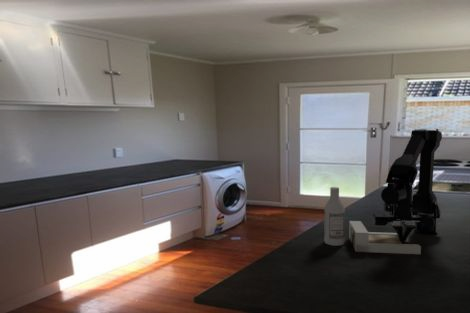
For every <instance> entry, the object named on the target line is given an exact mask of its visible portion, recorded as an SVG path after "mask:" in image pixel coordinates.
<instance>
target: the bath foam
mask: <svg viewBox="0 0 470 313" xmlns="http://www.w3.org/2000/svg"><path fill="white" fill-rule="evenodd" d="M329 190H330V192H329V194H330V197H329V199H328V201H327V202H326V203H325V206H324V213H323V214H324V217H323V220H324V222H323V224H324V225H323V226H324V227H323V228H324V230H323V231H324V233H323V235H324V237H323V238H324V239H323V240H324V244H326V245H328V246H333V247H334V246H335V247H337V246H338V247H339V246H343V245H344V244H345V240H346V239H345V236H346V232H345V231H346V228H345V226H346V220H345V219H346V218H345V217H346V211H345V209H346V208H345V206H344V204H343V202H342V200H341V199H340V188H339V187H338V186H331V187H330V189H329Z"/></svg>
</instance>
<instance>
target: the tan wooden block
mask: <svg viewBox="0 0 470 313" xmlns="http://www.w3.org/2000/svg"><path fill="white" fill-rule="evenodd" d="M369 243H387V244H402V243H401V242H400V241H399V240H398V239H397V238H396V237H395V236H394V235H369Z"/></svg>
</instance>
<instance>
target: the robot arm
mask: <svg viewBox="0 0 470 313" xmlns="http://www.w3.org/2000/svg"><path fill="white" fill-rule="evenodd" d="M442 139H443V133H442V131H440V130H439V128H419V129H413V130H412V131H411V133H410V138H409V139H408V142H407V144H406V147H405V148H404V151H403V153H402V155H401V156H399V157H397V158H396V159H395V160H394V162H393V163H392V165H391V166H390V168H389V170H388V174H387V177H386V180H385V184H387V185H386V187H384V188H383V189H382V191H381V192H380V196H381V200H382V201H383V202H384V203H383V212H384V213H373V214H372V215H371V222H372V223H373V224H374V226H382V227H383V226H385V227H386V225H388V224H389V225H390V227H391V228H393V229H394V230H395V233H397V236H398V239H399V241H400V242H401V243H402V244H406V242H405V241H406V239H407V237H408V235H409V236H410V234H411V232H412V231H413V230H415V231H416V232H417V233H418V234H424V235H438V232H437V219H441V211H442V210H441V209H440V207H439V204H438V201H437V199H438V198H437V196H436V194H435V192H434V191H433V183H434V169H435V168H434V166H435V164H434V163H435V152H436V151H437V150H438V148H440V146H441V145H440V144H441V141H442ZM418 159H419V168H418V167H417V165H416V163H417V161H418ZM418 169H419V172H418ZM417 176H418V186H417V187H418V188H417V191H416V192H415V193H414V194H413V186H414V183H415V181H416V178H417ZM385 213H389V216H387V215H386V214H385Z"/></svg>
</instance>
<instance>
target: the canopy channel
mask: <svg viewBox="0 0 470 313" xmlns="http://www.w3.org/2000/svg"><path fill="white" fill-rule="evenodd" d="M348 226H349V227H348V230H349V232H348V235H349V241H350V242H351V243H353V244H352V246H353V249H354V251H355V252H357V253H377V254H379V253H382V254H405V255H421V253H422V246H421V245H420V244H412V243H411V244H410V243H409V241H410V240H409V239H410V234H409V235H408V237H407V239H406V241H405V243H404V244H387V243H369V235H394V236H395V237H396V238H397V239H398V236H397V233H396V232H381V231H380V232H375V231H374V232H372V231H368V230H367V228H366V226H365V225H364V224H363V222H362V221H361V220H349V224H348ZM398 240H399V239H398ZM407 243H408V244H407Z"/></svg>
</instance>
